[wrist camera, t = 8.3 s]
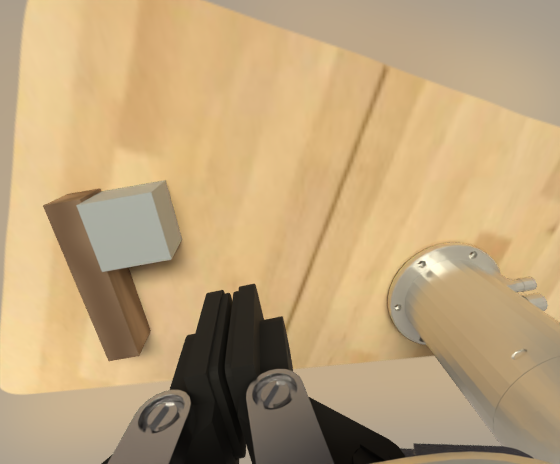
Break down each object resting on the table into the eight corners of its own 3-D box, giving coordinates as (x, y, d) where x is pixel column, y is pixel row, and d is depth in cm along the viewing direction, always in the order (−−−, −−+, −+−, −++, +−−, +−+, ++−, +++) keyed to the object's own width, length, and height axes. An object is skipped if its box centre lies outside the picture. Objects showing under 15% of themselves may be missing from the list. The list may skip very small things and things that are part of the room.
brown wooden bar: (100, 188, 31) (79, 199, 28) (150, 330, 37) (139, 355, 33) (67, 194, 31) (42, 205, 28) (123, 335, 37) (108, 361, 33)
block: (165, 180, 32) (151, 192, 27) (182, 238, 34) (171, 259, 29) (102, 191, 32) (76, 205, 27) (122, 249, 34) (102, 272, 29)
